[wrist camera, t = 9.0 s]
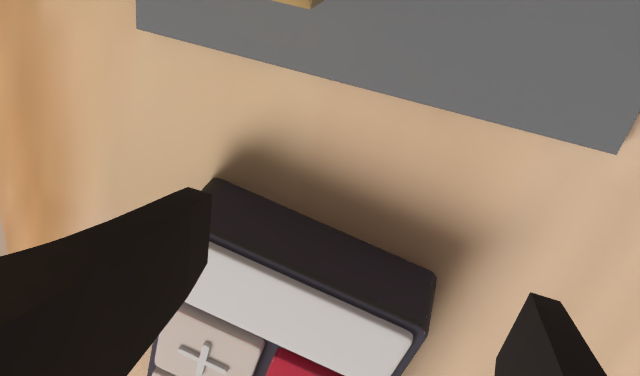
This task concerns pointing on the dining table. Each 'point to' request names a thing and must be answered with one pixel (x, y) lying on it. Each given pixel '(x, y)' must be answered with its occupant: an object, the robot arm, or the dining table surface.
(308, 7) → the bronze square frame
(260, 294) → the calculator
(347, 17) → the mat
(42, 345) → the robot arm
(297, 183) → the dining table surface
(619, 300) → the dining table surface
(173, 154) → the dining table surface
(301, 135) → the dining table surface
